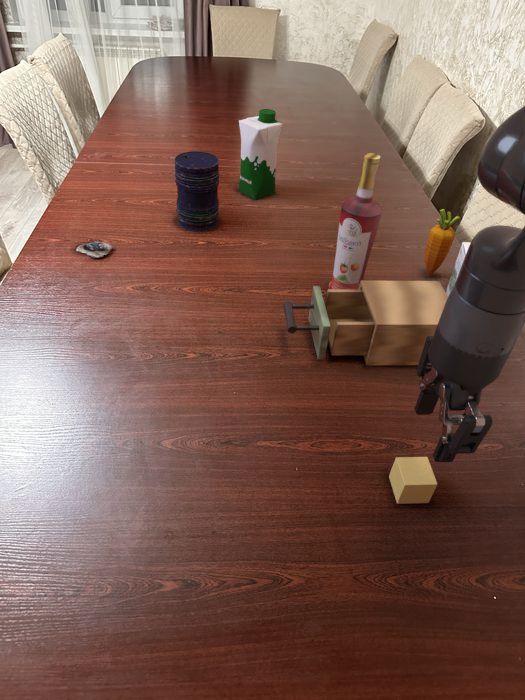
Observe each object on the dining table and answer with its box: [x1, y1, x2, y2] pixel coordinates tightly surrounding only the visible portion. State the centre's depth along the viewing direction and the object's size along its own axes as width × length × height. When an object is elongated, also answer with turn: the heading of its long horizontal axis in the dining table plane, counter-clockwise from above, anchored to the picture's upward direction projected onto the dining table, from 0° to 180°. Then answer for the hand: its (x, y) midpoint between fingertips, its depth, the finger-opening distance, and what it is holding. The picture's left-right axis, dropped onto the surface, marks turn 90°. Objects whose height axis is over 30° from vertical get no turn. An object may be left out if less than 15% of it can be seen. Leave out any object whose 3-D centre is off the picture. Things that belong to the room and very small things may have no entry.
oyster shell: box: [76, 240, 114, 259], centre depth 111 cm, size 7×8×2 cm
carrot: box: [424, 208, 461, 276], centre depth 108 cm, size 5×5×15 cm
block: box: [388, 456, 439, 505], centre depth 70 cm, size 4×4×4 cm
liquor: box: [328, 152, 383, 290], centre depth 96 cm, size 7×7×28 cm
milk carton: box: [237, 108, 283, 201], centre depth 132 cm, size 9×9×20 cm
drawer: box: [283, 285, 375, 360], centre depth 91 cm, size 19×11×7 cm, turn 94°
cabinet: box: [359, 279, 448, 366], centre depth 92 cm, size 15×13×9 cm
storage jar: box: [174, 150, 220, 232], centre depth 119 cm, size 10×10×15 cm
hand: (431, 434), depth 64 cm, fingers open, 6 cm apart
